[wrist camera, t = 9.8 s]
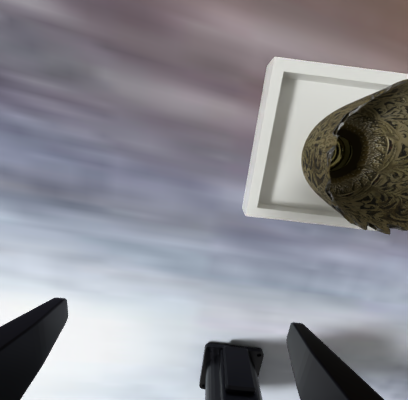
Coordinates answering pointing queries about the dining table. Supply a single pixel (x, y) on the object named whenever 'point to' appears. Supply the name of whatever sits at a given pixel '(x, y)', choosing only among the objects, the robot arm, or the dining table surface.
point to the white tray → (300, 135)
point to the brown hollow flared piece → (363, 159)
